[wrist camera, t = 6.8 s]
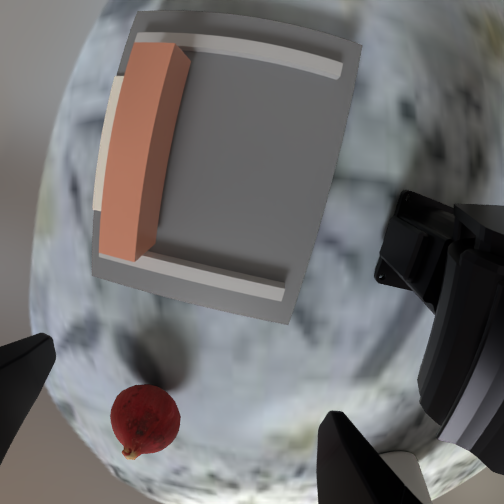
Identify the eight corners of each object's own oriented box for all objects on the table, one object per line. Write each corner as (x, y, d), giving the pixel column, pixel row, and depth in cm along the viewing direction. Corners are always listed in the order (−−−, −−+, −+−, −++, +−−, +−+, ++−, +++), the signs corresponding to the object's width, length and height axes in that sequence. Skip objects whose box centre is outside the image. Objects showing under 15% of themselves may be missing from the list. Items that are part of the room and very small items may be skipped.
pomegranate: (140, 354, 22) (102, 424, 15) (199, 387, 23) (179, 463, 15) (121, 388, 24) (89, 450, 16) (173, 417, 25) (152, 482, 17)
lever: (191, 61, 12) (175, 43, 10) (155, 243, 16) (134, 262, 13) (155, 58, 12) (134, 42, 10) (123, 235, 16) (98, 252, 13)
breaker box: (350, 57, 14) (366, 40, 11) (285, 305, 20) (289, 332, 17) (151, 25, 14) (132, 6, 11) (108, 262, 20) (85, 280, 16)
